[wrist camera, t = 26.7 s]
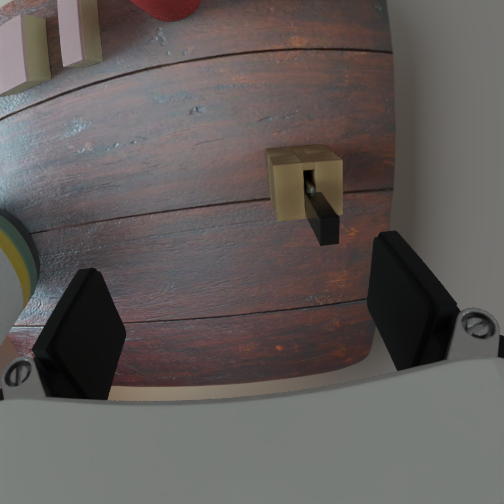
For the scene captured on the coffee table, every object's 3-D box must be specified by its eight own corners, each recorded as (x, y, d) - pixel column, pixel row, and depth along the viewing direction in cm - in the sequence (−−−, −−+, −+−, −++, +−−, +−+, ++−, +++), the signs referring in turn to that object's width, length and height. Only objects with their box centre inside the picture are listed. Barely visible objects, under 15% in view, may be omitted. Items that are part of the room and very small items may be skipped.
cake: (45, 18, 26) (20, 13, 20) (51, 78, 30) (26, 81, 25) (11, 36, 26) (-15, 35, 20) (18, 93, 30) (-9, 99, 25)
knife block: (322, 144, 37) (342, 159, 30) (323, 189, 40) (343, 214, 33) (265, 148, 37) (273, 165, 30) (269, 195, 40) (277, 221, 33)
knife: (300, 161, 38) (339, 212, 24) (301, 185, 40) (339, 248, 26) (287, 162, 38) (320, 214, 24) (289, 187, 40) (320, 250, 26)
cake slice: (97, -2, 26) (76, -12, 20) (103, 61, 30) (82, 59, 25) (79, 5, 26) (56, -3, 20) (85, 67, 30) (62, 67, 25)
